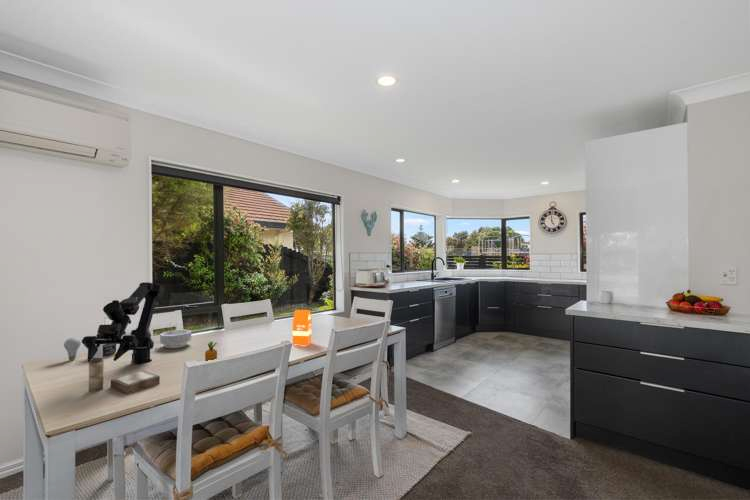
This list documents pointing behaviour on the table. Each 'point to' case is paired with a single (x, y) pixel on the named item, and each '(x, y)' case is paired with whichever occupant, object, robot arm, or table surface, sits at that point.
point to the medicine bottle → (105, 349)
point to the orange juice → (302, 327)
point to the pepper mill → (96, 375)
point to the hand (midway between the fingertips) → (101, 361)
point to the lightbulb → (72, 347)
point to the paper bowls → (175, 338)
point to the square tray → (134, 382)
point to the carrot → (211, 352)
